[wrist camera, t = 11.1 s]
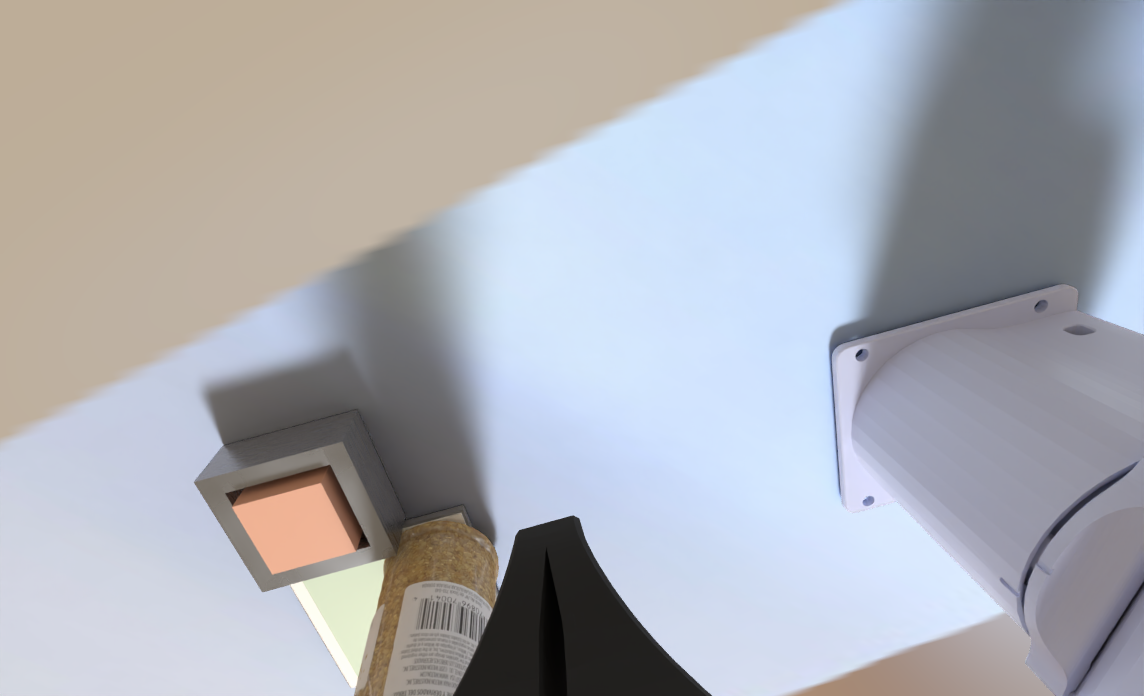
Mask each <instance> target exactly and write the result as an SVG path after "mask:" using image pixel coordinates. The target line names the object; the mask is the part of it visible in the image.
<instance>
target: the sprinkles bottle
mask: <svg viewBox="0 0 1144 696" xmlns="http://www.w3.org/2000/svg"><path fill="white" fill-rule="evenodd" d="M498 570H499V566H498V556H497V553H496V550H495V548H494V546H493V545H492V543H491V542H490V540H489V539H488V538H487V537H486V536H485V535H484V534H482V533H481V532H480V531H478V530H476V529H475V528H473V527H469V526H467V525H465V524H462V523H458V522H451V521H431V522H427V523H424V524H421V525H418V526H415V527H413V528H411V529H408V530H406V531H405V532H403V533H402V534H401V539H400V543H399V548H398V552H397V556H393V557H390V558H386V559H385V561H384V567H383V574H384V579H383V583H382V588H381V592H380V596H379V599H378V605H377V610H376V613H375V615H374V617H373V619H372V622H371V626H370V630H369V633H368V637H367V642H366V646H365V650H364V654H363V658H362V663H361V668H360V672H359V676H358V680H357V685H356V689H355V694H354V696H453V694H454V692H455V690H456V688H457V687H458V685H459V683H460V681H461V679H462V677H463V675H464V673H465V671H466V669H467V667H468V665H469V663H470V661H471V659H472V657H473V655H474V653H475V650H476V648H477V646H478V644H479V641H480V639H481V637H482V634H483V632H484V629H485V627H486V625H487V622H488V620H489V618H490V615H491V613H492V610H493V607H494V605H495V602H496V580H497V577H498Z"/></svg>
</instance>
